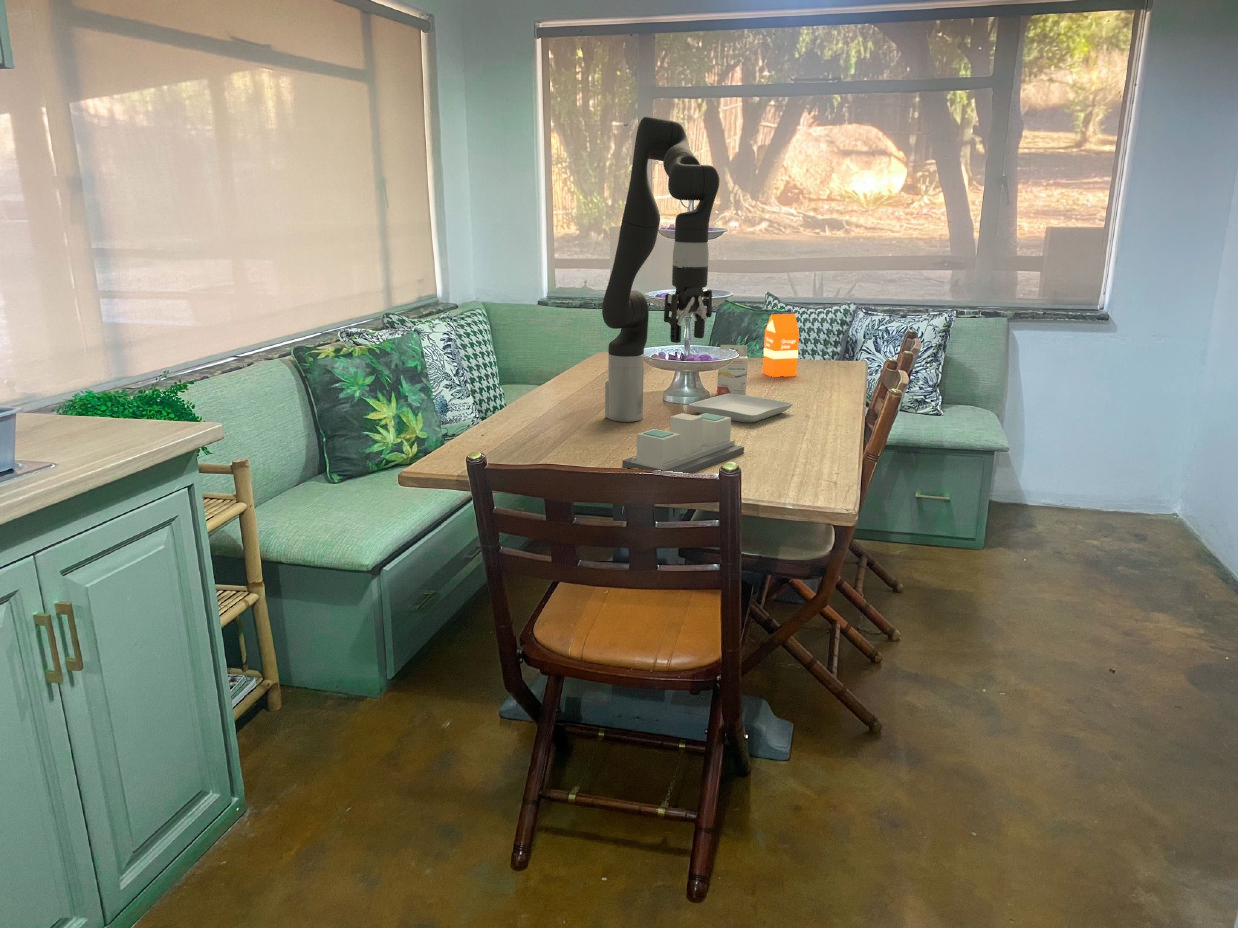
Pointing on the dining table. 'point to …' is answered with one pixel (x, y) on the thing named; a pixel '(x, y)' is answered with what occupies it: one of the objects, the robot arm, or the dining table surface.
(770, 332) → the orange juice
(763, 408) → the salad plate
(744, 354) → the ink cartridge box
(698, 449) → the loose module
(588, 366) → the dining table surface
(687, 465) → the board
